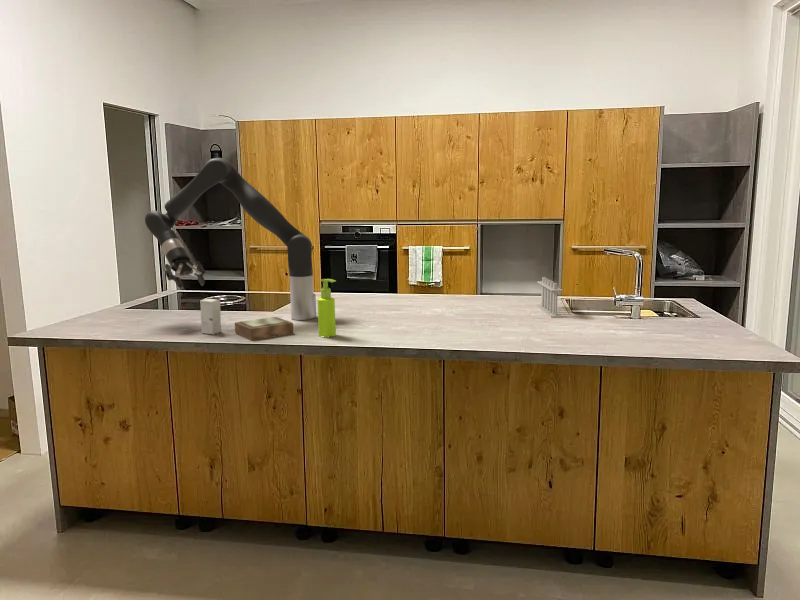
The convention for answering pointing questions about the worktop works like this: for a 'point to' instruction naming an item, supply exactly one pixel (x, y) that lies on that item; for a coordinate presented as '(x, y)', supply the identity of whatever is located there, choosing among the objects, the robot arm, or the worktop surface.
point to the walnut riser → (263, 328)
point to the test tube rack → (549, 298)
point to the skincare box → (210, 316)
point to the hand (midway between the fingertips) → (192, 285)
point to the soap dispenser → (326, 311)
